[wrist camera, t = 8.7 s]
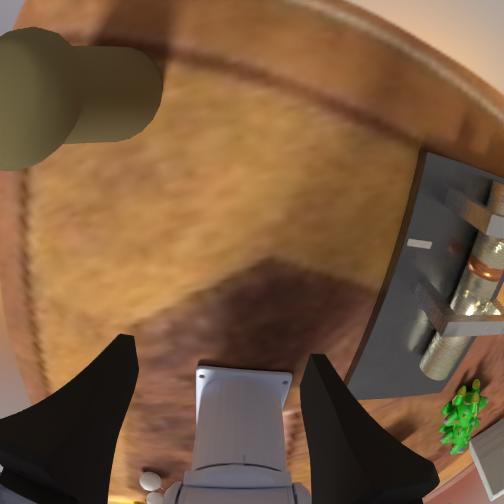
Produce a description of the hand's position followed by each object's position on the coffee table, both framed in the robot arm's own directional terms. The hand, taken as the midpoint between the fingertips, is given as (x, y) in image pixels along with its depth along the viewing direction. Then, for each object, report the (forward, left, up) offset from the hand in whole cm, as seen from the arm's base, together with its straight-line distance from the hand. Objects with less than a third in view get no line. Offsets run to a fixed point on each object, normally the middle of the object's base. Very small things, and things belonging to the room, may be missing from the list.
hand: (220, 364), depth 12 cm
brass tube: (+1, -18, -7) cm, 19 cm away
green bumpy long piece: (-20, -31, -10) cm, 38 cm away
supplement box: (-30, -46, -10) cm, 56 cm away
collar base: (-2, -17, -9) cm, 20 cm away
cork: (+10, +8, -10) cm, 16 cm away
